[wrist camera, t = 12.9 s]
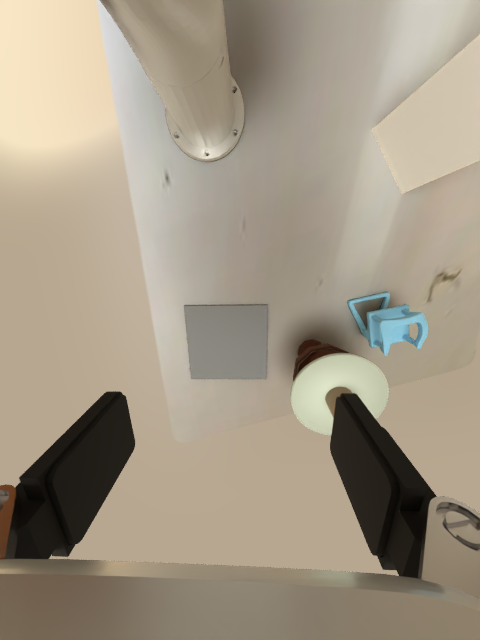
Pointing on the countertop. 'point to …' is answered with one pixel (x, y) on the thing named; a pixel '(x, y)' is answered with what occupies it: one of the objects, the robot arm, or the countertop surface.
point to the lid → (336, 388)
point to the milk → (435, 124)
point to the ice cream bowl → (312, 354)
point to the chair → (389, 323)
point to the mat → (227, 341)
